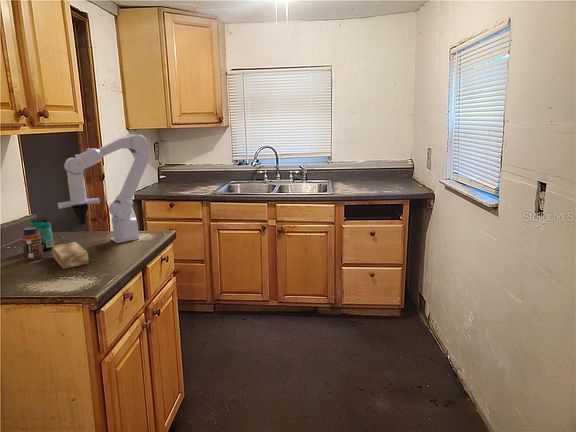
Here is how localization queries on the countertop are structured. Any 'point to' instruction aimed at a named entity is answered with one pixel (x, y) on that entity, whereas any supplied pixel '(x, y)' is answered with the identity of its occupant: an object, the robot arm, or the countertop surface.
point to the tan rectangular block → (69, 255)
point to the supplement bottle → (32, 244)
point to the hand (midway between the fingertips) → (82, 223)
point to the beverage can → (44, 232)
